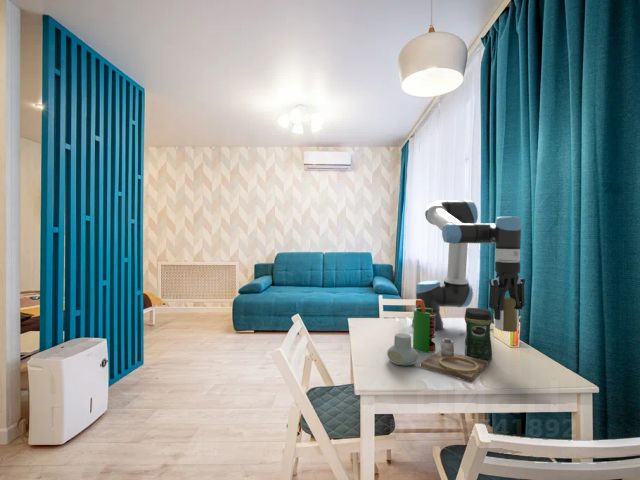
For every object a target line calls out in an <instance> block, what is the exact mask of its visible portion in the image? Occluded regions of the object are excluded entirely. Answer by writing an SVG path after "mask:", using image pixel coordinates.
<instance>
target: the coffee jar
mask: <svg viewBox="0 0 640 480" xmlns="http://www.w3.org/2000/svg"><path fill="white" fill-rule="evenodd" d="M464 322H465V325H466V326H465V341H464V354H465V355H464V356H468V357H472V358H476V359H481V360H485V361H487V360H488V361H489V360H491V359H492V358H493V348H492V340H491V339H492V338H491V325H492V323H493V317H492V312H491V310H490V309H487V308H482V307H481V308H478V307H466V309H465V314H464Z"/></svg>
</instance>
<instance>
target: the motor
mask: <svg viewBox="0 0 640 480" xmlns="http://www.w3.org/2000/svg"><path fill="white" fill-rule="evenodd" d="M416 305H421V308H416V307H415V308H413V318H414V322H413V326H412V328H413V329H412V348H414V349H415V350H416V351H417V352H422V353H431V352H435V351H436V350H437V349H436V342H434V341H433V339H435V338H436V335H435V334H436V330H435V322H434V321H435V318H433V317H436V315H435V314H434V313H433V309H430V308H425V305H424V302H423V300H421V299H416V298H415V306H416Z"/></svg>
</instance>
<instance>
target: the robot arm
mask: <svg viewBox="0 0 640 480" xmlns="http://www.w3.org/2000/svg"><path fill="white" fill-rule="evenodd" d="M478 214H479V212H478V207H477V205H476V204H475V202H474V201H472V200H469V199H468V200H467V199H454V200H453V199H447V200H445V199H441V200H439V199H438V200H436V201H434V202H432V203H431V204H429V205H428V206H427V207H426V209H425V212H424V215H425V219H426V221H427V222H428V223H429V224H431V225H433V226H436V227H437V228H438V229H439V230H440V231H441V237H442V240H443V242H444V243H447V244H448V256H447V257H448V259H447V276H446V277H445V278H444V279H443V283H441V282H440V281H439V280H432V279H431V280H424V281H419V282H418V283H417V284H416V287H415V300H416V299H421V300H423V302H424V305H425V308H430V309H433V313H434V314H435V315H436V317H433V318H435V321H434V322H435V330H434V331H441V330H443V329H444V323H443V319H442V316H441V313H440V311H441V309H440V307H441V308H442V307H444V308H445V307H447V308H449V307H450V308H468V306H470V304H471V303H472V301H473V296H474V292H473V290H474V289H473V286H472V285H471V284H470V283H469V280H468V279H467V277H466V276H467V261H468V248H469V247H468V244H495V249H494V250H495V252H494V254H495V255H494V259H495V260H496V261H494V270H495V272H496V276H495V278H489V281H488V282H489V296H488V297H489V299H488V300H489V301H488V307H489V308H490V309H492V310H493V318H494V329H496V330H499V329H500V331H502V330H503V311H502V310H501V309H502V305H503V301H504V298H505V297H506V293H507V292H508V293H509V297H510V298H513V299H515V301H516V305H515V307H514V312H515V320H516V327H517V329H519V322H520V310H523V308H524V307H525V305H526V303H525V302H526V301H525V284H526V279H525V278H521V277H519V274H520V273H521V263H520V261H521V245H522V243H521V242H522V225H521V224H522V223H521V221H522V220H521V218H520V217H519V216H517V215H516V216H515V215H513V216H512V215H510V216H508V215H507V216H497V217H496V218H495V222H494V223H493V222H492V223H485V222H484V223H482V222H479V223H477V222H478V219H479V218H478V216H479V215H478ZM415 308H421V305H416V304H415ZM413 322H414V317H413V318H412V321H411V325H412V327H413Z"/></svg>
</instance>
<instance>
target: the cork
mask: <svg viewBox="0 0 640 480" xmlns="http://www.w3.org/2000/svg"><path fill="white" fill-rule="evenodd" d="M515 305H516V301H515V299H513V298H510V296H505V298H504V301H503V305H502V309H501V310H502V311H503V330H500V329H498V330H500V331H502V332H508V333H514V332H518V328H517V327H516V320H515V312H514V307H515Z"/></svg>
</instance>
